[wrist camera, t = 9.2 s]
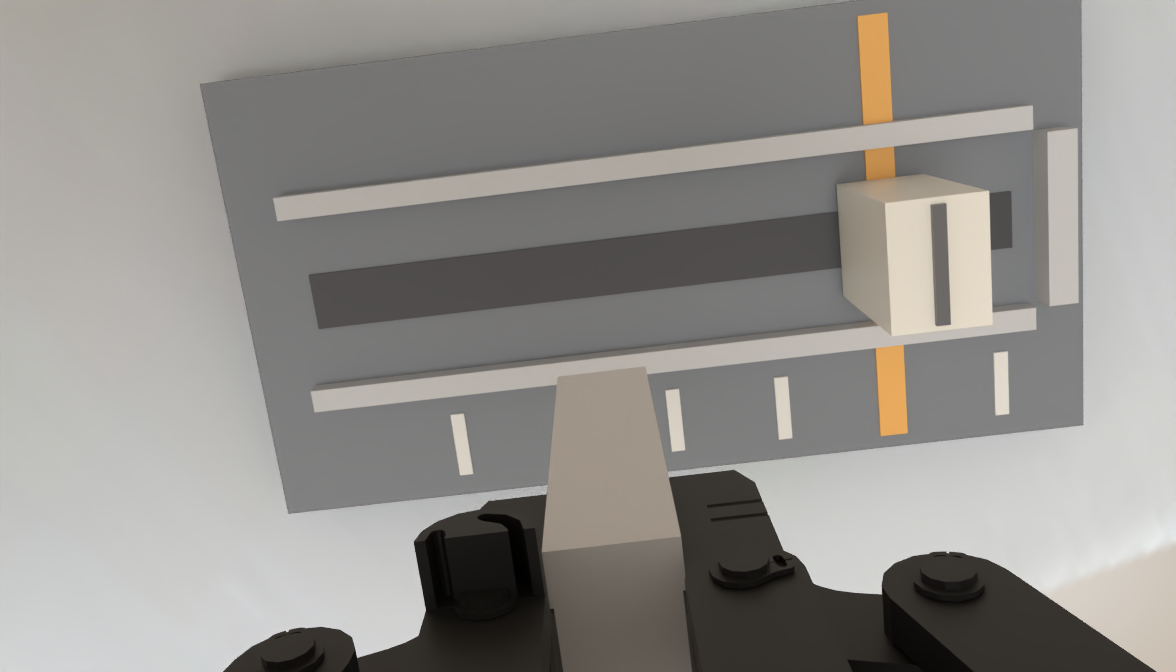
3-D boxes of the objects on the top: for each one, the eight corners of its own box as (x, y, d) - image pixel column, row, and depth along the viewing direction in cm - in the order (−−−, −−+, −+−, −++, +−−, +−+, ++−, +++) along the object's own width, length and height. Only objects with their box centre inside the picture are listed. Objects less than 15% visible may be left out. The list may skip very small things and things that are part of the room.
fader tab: (836, 184, 35) (886, 203, 29) (923, 173, 35) (991, 191, 29) (843, 296, 36) (893, 337, 30) (927, 286, 36) (995, 326, 30)
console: (220, 84, 37) (186, 83, 33) (1054, -22, 36) (1098, -32, 32) (303, 493, 40) (279, 527, 37) (1059, 408, 39) (1098, 435, 36)
